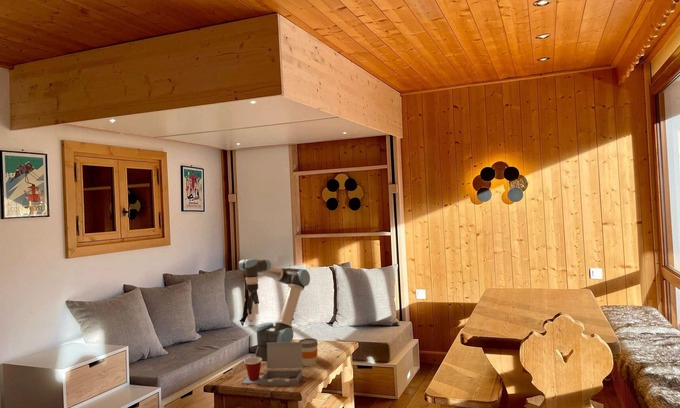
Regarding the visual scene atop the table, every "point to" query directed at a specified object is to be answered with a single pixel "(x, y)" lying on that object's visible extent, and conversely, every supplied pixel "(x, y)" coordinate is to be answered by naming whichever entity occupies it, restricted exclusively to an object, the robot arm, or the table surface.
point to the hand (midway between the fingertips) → (253, 316)
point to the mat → (252, 381)
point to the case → (281, 381)
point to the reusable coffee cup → (309, 351)
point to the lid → (284, 355)
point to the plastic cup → (253, 367)
